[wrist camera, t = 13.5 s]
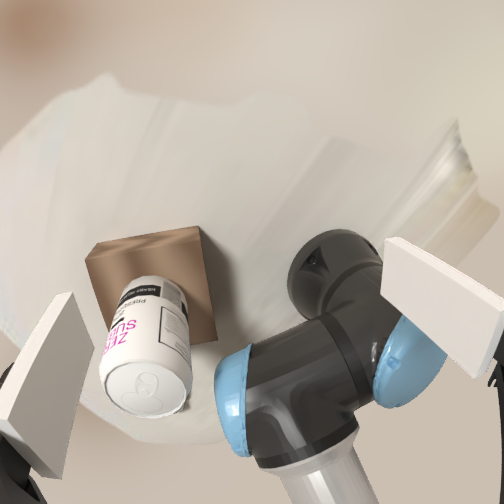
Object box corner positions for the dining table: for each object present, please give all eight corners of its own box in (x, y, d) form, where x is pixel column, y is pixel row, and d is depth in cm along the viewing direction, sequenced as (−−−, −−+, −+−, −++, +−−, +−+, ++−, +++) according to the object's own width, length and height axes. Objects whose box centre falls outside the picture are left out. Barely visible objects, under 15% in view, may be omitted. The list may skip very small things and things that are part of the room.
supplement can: (178, 337, 38) (182, 428, 24) (116, 322, 36) (94, 410, 22) (195, 283, 36) (205, 368, 22) (127, 264, 33) (99, 343, 20)
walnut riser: (198, 225, 40) (200, 239, 34) (213, 316, 45) (218, 340, 40) (97, 243, 38) (84, 259, 32) (123, 330, 43) (117, 354, 37)
